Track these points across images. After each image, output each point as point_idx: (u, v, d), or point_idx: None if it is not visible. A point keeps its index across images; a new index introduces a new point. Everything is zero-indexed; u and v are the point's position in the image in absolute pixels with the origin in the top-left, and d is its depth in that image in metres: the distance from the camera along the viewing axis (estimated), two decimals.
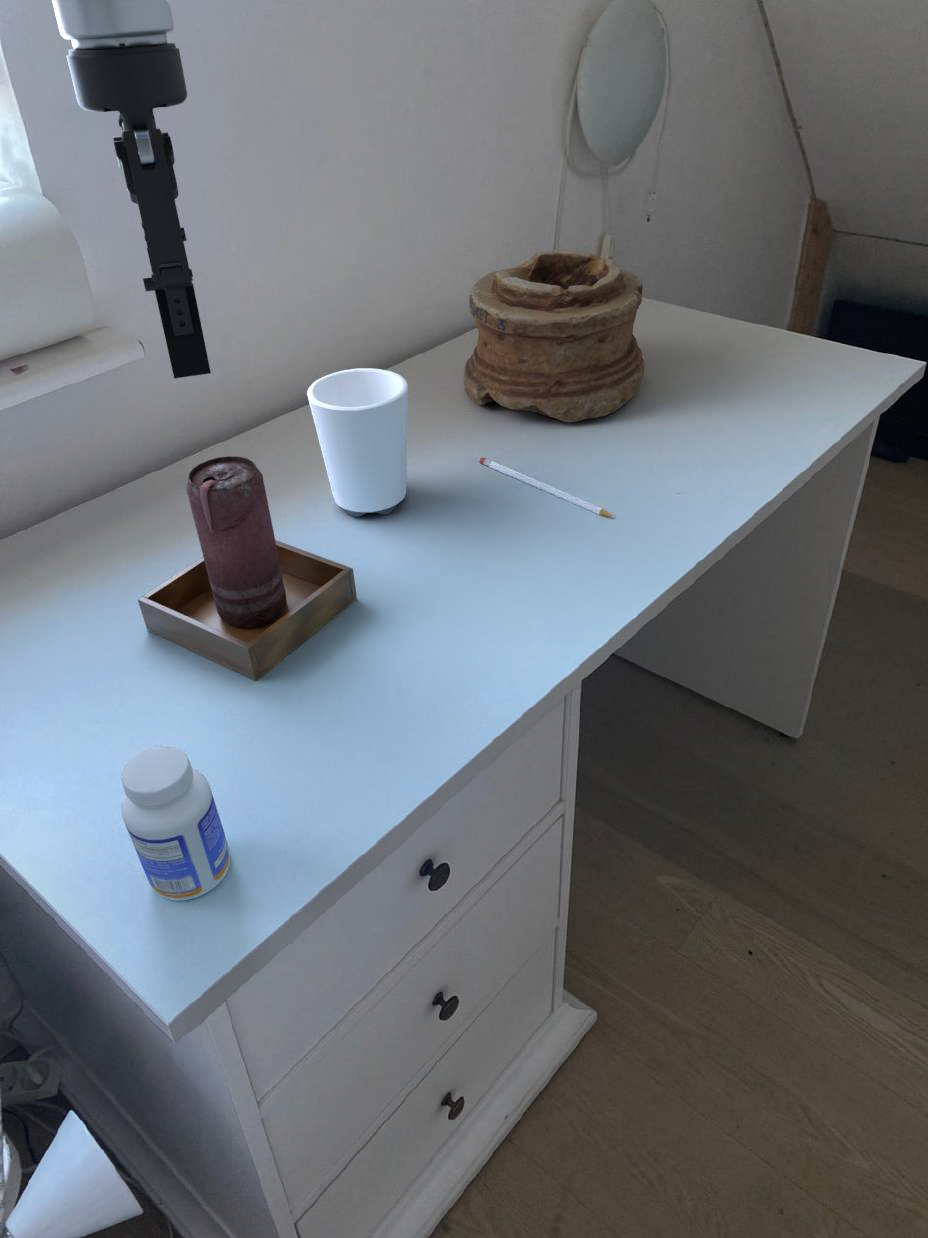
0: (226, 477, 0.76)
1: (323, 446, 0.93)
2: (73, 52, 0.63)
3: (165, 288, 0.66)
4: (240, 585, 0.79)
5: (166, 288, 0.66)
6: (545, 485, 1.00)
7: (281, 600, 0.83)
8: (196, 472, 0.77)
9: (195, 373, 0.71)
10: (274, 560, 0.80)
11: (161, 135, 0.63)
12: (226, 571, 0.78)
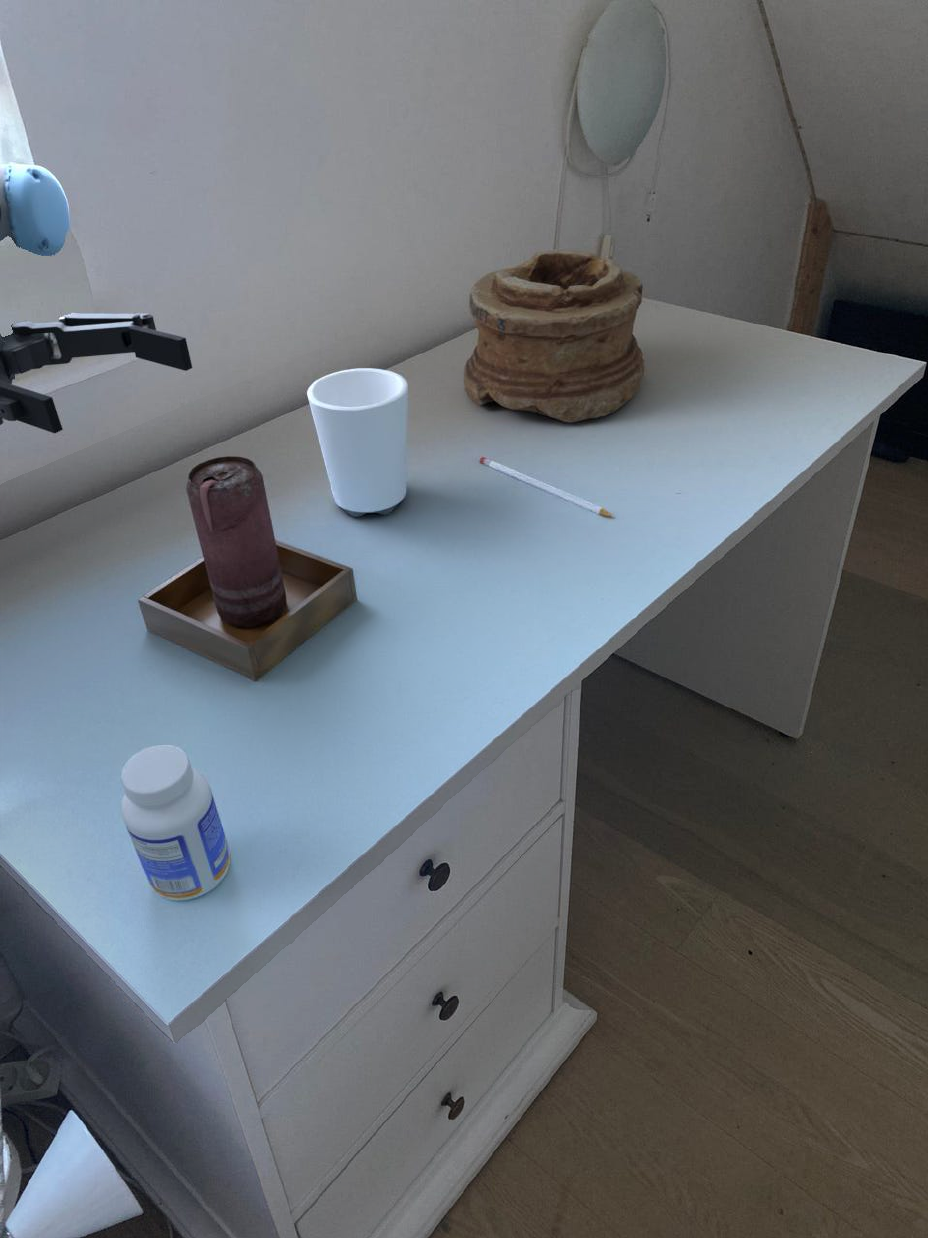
0: (226, 477, 0.76)
1: (323, 446, 0.93)
2: None
3: (147, 327, 0.85)
4: (240, 585, 0.79)
5: (147, 327, 0.85)
6: (545, 485, 1.00)
7: (281, 600, 0.83)
8: (196, 472, 0.77)
9: (188, 355, 0.82)
10: (274, 560, 0.80)
11: None
12: (226, 571, 0.78)
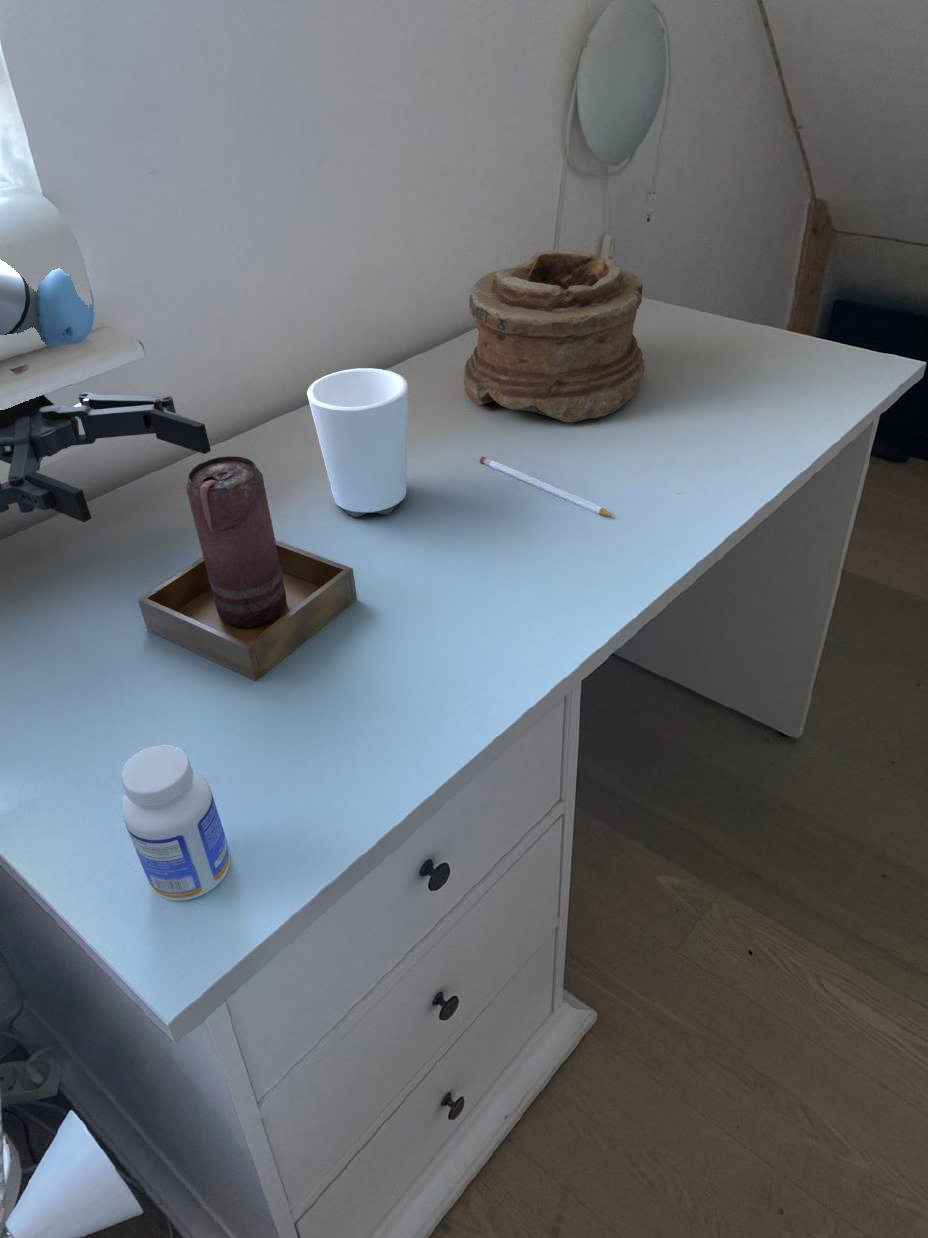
0: (226, 477, 0.76)
1: (323, 446, 0.93)
2: None
3: (167, 409, 0.90)
4: (240, 585, 0.79)
5: (167, 410, 0.90)
6: (545, 484, 1.00)
7: (281, 600, 0.83)
8: (196, 472, 0.77)
9: None
10: (274, 560, 0.80)
11: None
12: (226, 571, 0.78)
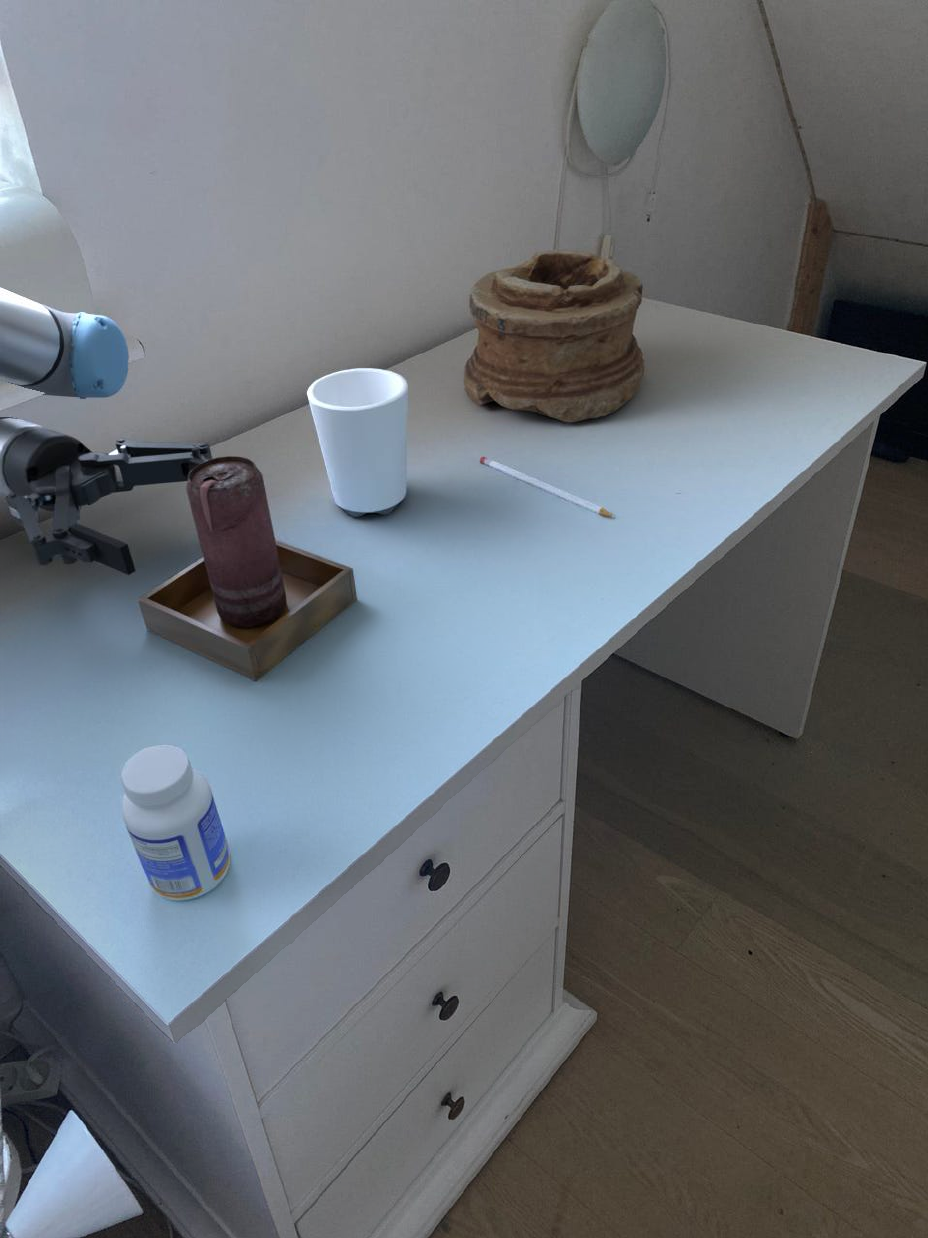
0: (226, 477, 0.76)
1: (323, 446, 0.93)
2: None
3: (205, 456, 0.91)
4: (240, 585, 0.79)
5: (205, 457, 0.91)
6: (545, 484, 1.00)
7: (281, 600, 0.83)
8: (196, 472, 0.77)
9: None
10: (274, 560, 0.80)
11: None
12: (226, 571, 0.78)
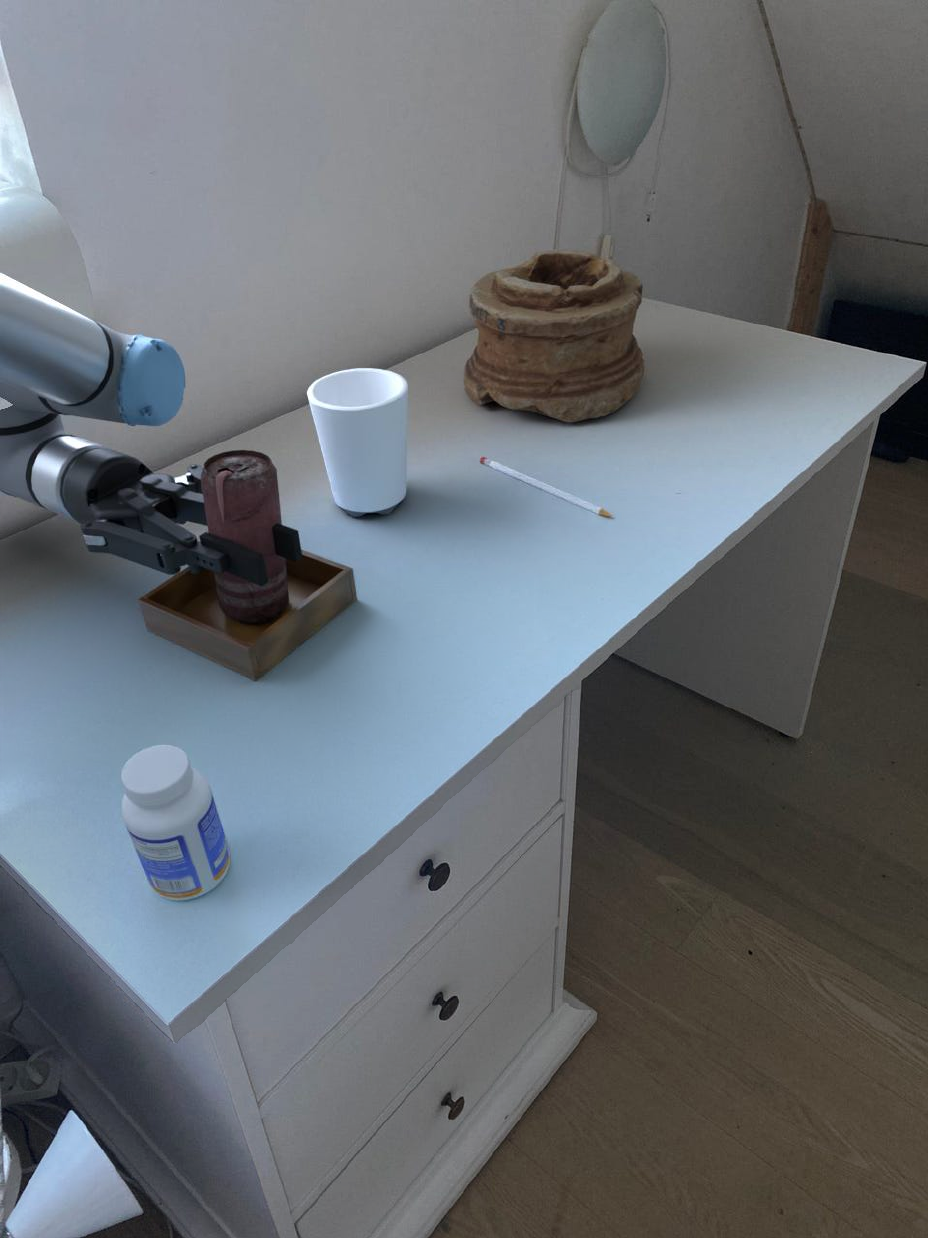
0: (241, 469, 0.76)
1: (323, 446, 0.93)
2: None
3: None
4: None
5: None
6: (545, 485, 1.00)
7: (285, 596, 0.83)
8: (211, 463, 0.77)
9: None
10: None
11: None
12: None
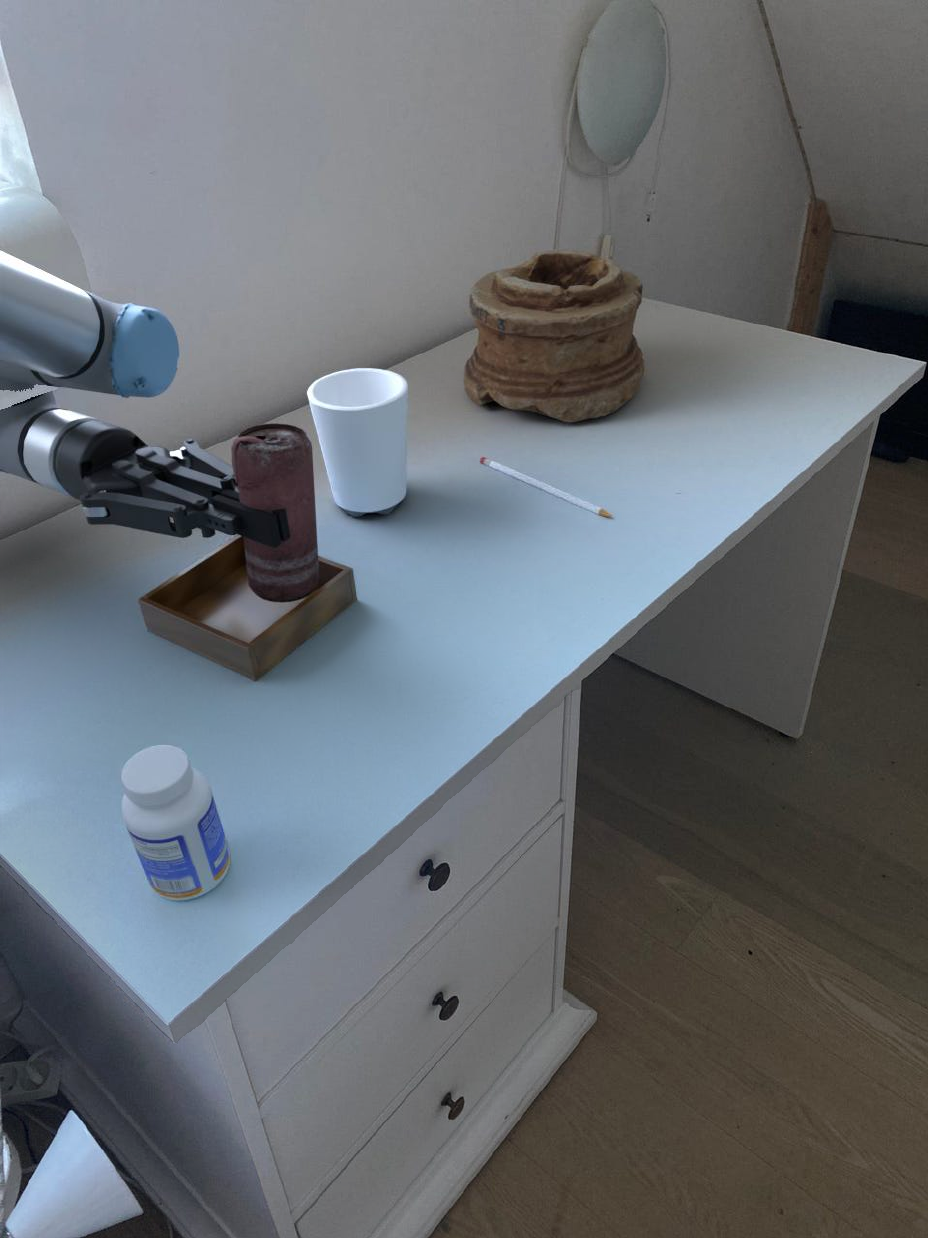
0: (270, 442, 0.74)
1: (323, 446, 0.93)
2: None
3: None
4: (250, 548, 0.78)
5: None
6: (545, 485, 1.00)
7: (291, 587, 0.79)
8: (266, 428, 0.77)
9: (287, 525, 0.76)
10: (290, 545, 0.77)
11: None
12: None
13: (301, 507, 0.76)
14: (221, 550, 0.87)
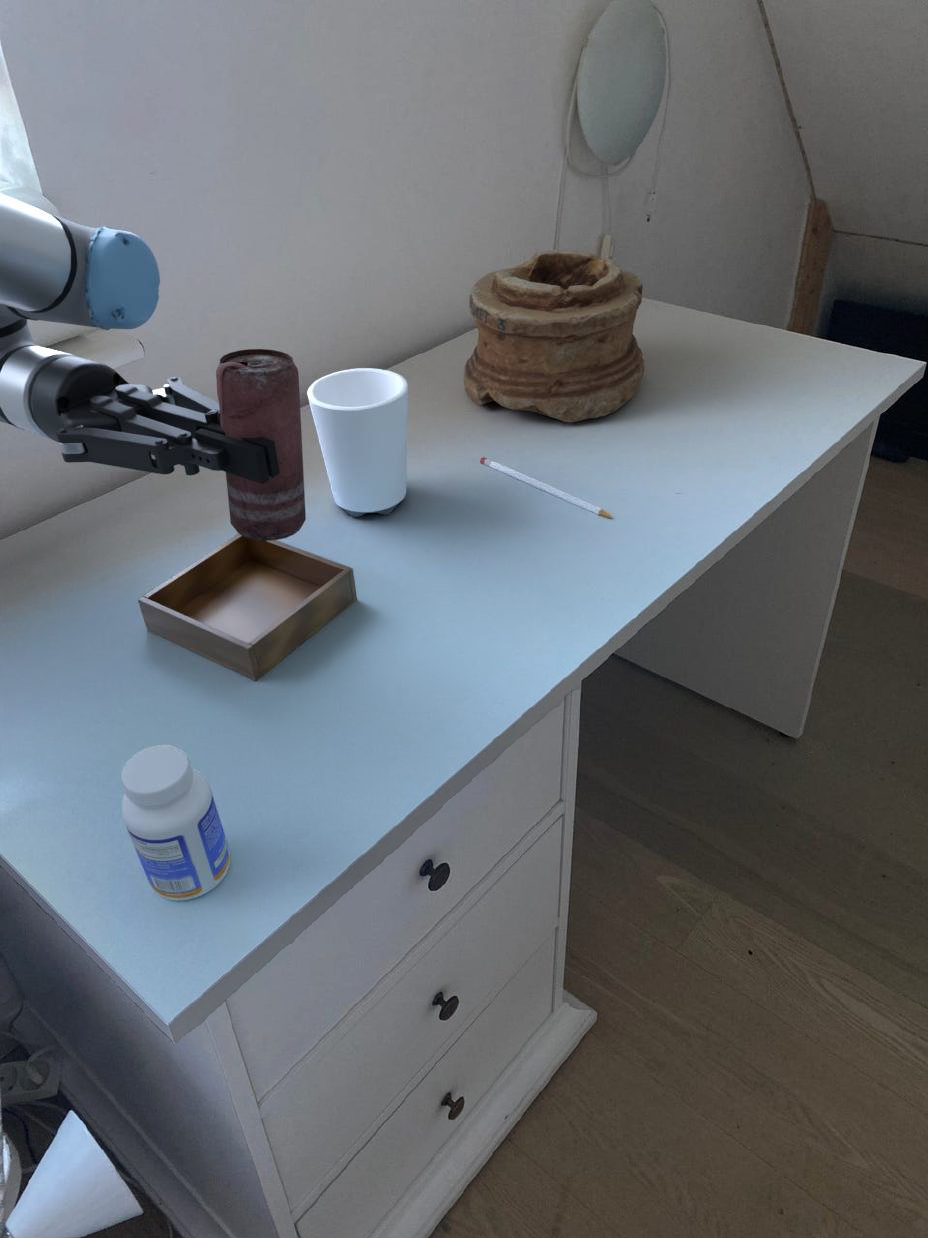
0: (256, 366, 0.70)
1: (323, 446, 0.93)
2: None
3: None
4: (240, 485, 0.73)
5: None
6: (545, 485, 1.00)
7: (287, 521, 0.76)
8: (240, 355, 0.72)
9: None
10: (286, 475, 0.73)
11: None
12: None
13: (294, 432, 0.73)
14: (221, 550, 0.87)
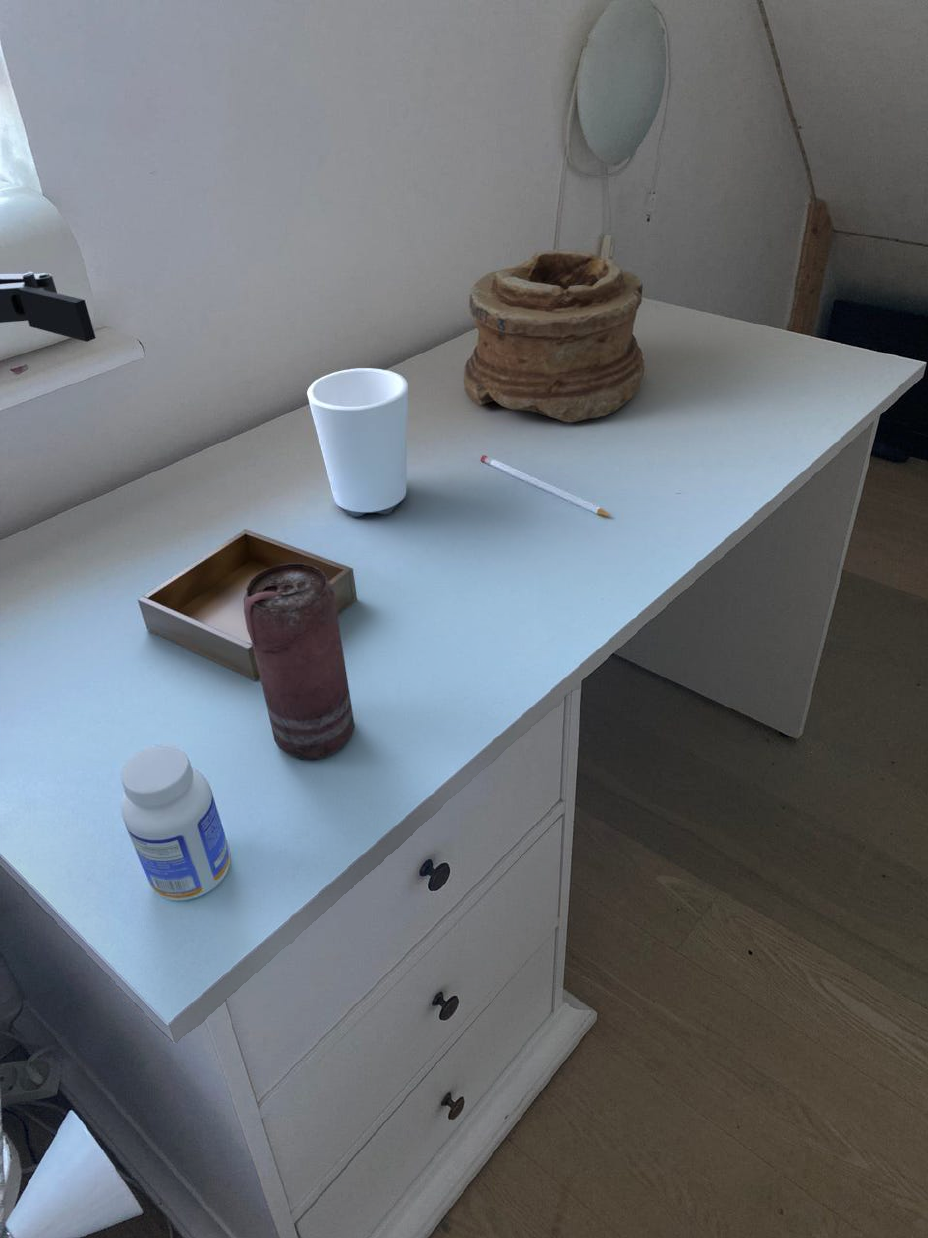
0: (287, 593, 0.63)
1: (323, 446, 0.93)
2: None
3: (44, 289, 0.69)
4: (281, 712, 0.67)
5: (45, 290, 0.69)
6: (544, 484, 1.00)
7: (334, 740, 0.69)
8: (269, 574, 0.65)
9: (90, 322, 0.66)
10: (329, 698, 0.67)
11: None
12: (268, 692, 0.66)
13: (335, 655, 0.66)
14: (221, 550, 0.87)
